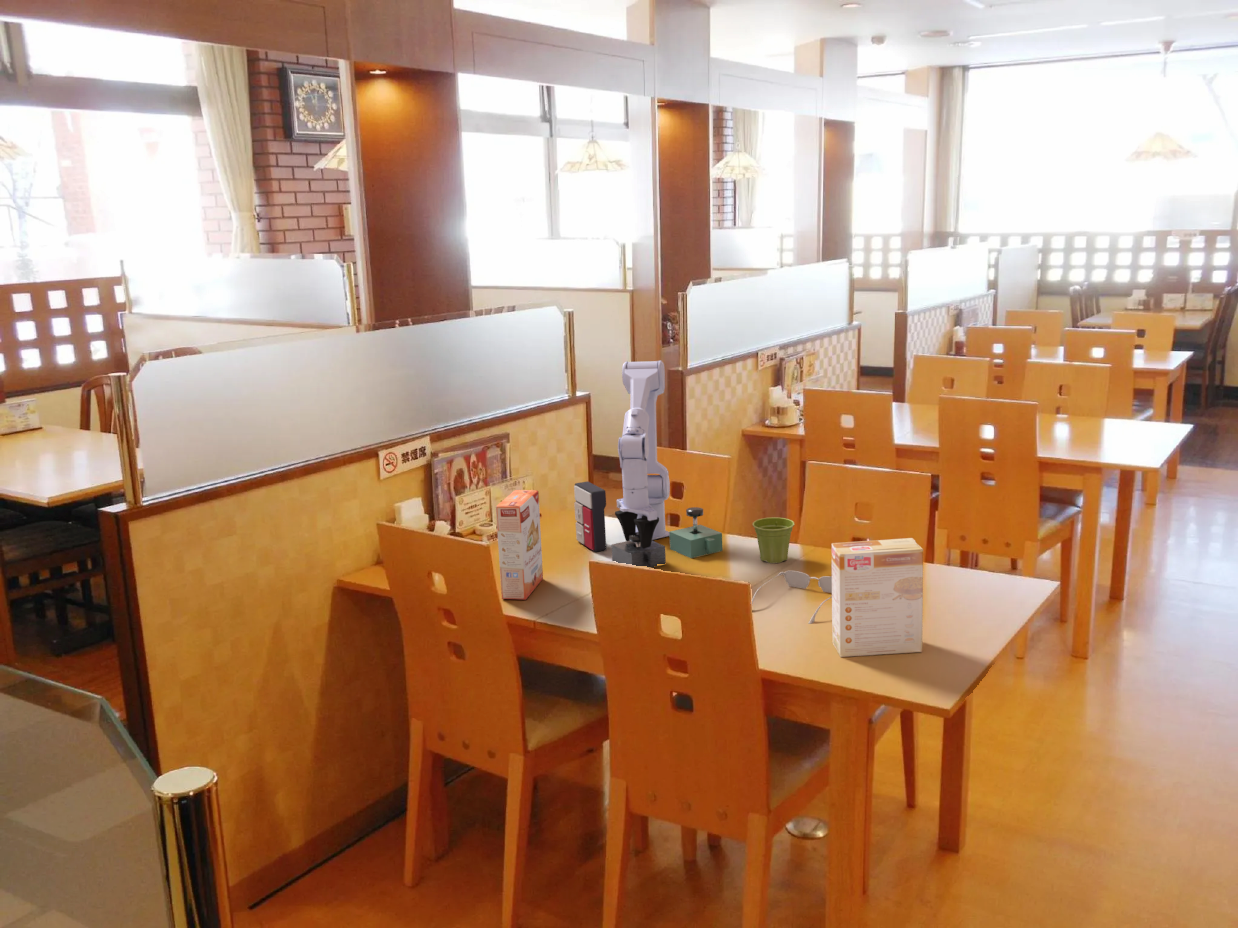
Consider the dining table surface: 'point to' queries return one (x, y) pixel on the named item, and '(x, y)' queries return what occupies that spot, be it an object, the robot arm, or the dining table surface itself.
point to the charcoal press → (638, 554)
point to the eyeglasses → (804, 584)
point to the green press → (696, 541)
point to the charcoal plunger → (635, 538)
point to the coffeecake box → (877, 597)
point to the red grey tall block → (590, 515)
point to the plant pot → (773, 538)
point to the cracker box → (519, 544)
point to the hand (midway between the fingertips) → (638, 543)
